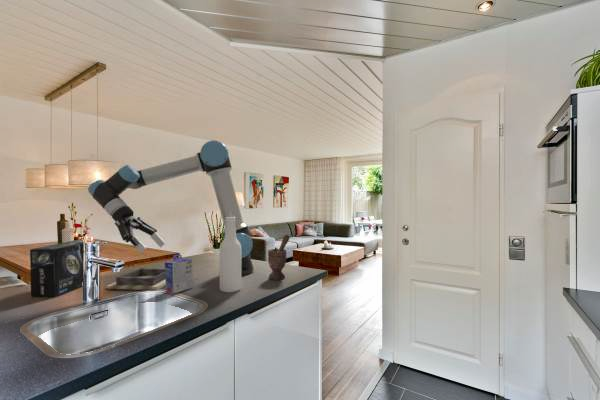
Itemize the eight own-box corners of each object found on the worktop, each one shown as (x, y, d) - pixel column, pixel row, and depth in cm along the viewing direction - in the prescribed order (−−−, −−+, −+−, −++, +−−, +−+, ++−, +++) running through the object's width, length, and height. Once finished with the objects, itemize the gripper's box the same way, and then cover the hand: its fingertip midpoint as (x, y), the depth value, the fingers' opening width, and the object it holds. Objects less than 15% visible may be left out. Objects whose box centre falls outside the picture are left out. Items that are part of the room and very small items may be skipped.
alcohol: (227, 285, 127) (227, 216, 127) (245, 287, 124) (245, 216, 124) (215, 291, 119) (214, 217, 119) (233, 293, 116) (233, 218, 116)
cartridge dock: (180, 276, 141) (180, 268, 141) (157, 289, 121) (157, 279, 121) (137, 275, 143) (137, 267, 143) (106, 288, 123) (106, 278, 123)
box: (55, 298, 112) (54, 248, 111) (29, 297, 112) (29, 248, 112) (98, 280, 135) (98, 239, 135) (77, 280, 135) (77, 239, 135)
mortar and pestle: (276, 273, 147) (276, 233, 147) (292, 275, 144) (291, 234, 144) (264, 279, 137) (264, 236, 136) (281, 281, 133) (281, 237, 133)
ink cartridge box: (185, 285, 127) (184, 252, 127) (193, 287, 124) (193, 253, 124) (164, 292, 119) (164, 256, 118) (173, 294, 116) (173, 257, 116)
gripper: (133, 215, 136) (164, 248, 135) (90, 219, 111) (127, 260, 110) (144, 204, 135) (175, 237, 134) (103, 205, 110) (141, 246, 109)
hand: (154, 247), depth 122 cm, fingers open, 13 cm apart
